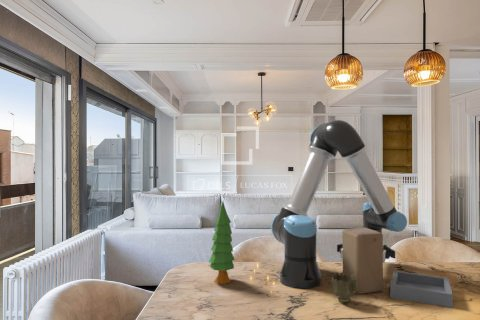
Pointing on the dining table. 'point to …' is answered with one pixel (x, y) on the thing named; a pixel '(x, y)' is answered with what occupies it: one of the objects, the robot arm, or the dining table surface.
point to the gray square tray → (421, 288)
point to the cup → (344, 286)
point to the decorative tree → (222, 247)
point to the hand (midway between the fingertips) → (361, 256)
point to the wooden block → (363, 258)
